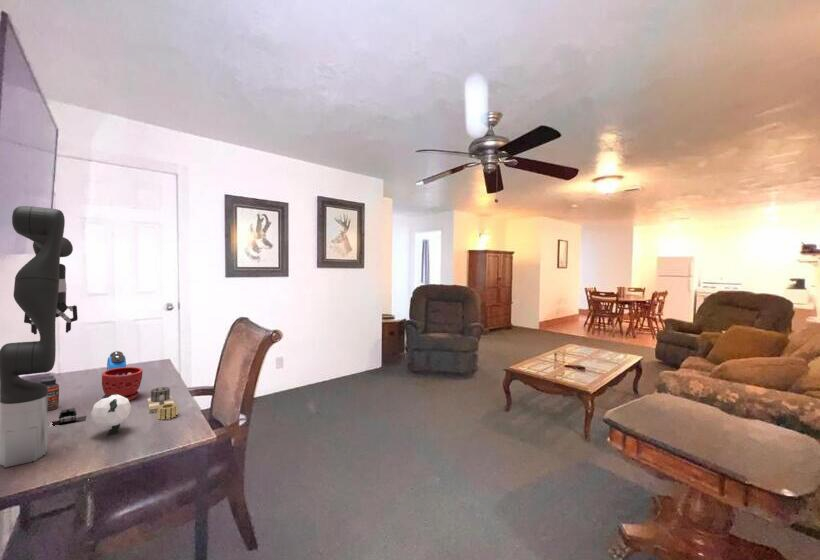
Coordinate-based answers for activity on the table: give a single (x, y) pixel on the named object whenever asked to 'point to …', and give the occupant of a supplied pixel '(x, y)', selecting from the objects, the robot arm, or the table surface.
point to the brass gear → (167, 411)
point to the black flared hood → (69, 420)
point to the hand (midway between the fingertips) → (51, 333)
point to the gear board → (155, 404)
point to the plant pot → (122, 382)
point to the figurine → (111, 412)
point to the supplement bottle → (52, 393)
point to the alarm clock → (116, 361)
